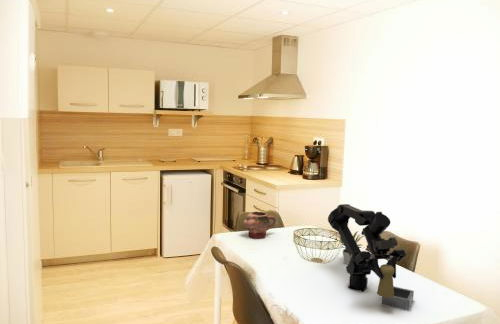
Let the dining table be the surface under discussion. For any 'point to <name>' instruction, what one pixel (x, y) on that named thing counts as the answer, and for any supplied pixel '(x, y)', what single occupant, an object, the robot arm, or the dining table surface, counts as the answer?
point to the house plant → (345, 252)
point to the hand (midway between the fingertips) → (388, 278)
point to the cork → (386, 281)
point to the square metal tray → (399, 299)
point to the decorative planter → (258, 224)
